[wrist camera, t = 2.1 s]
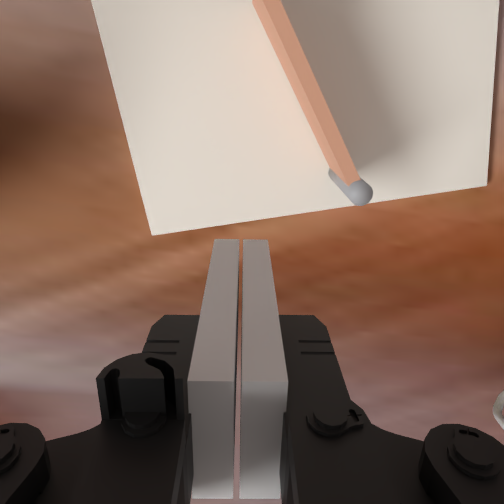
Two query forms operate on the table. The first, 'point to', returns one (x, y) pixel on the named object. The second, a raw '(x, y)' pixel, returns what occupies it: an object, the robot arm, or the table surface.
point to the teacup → (499, 409)
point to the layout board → (287, 106)
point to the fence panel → (312, 100)
